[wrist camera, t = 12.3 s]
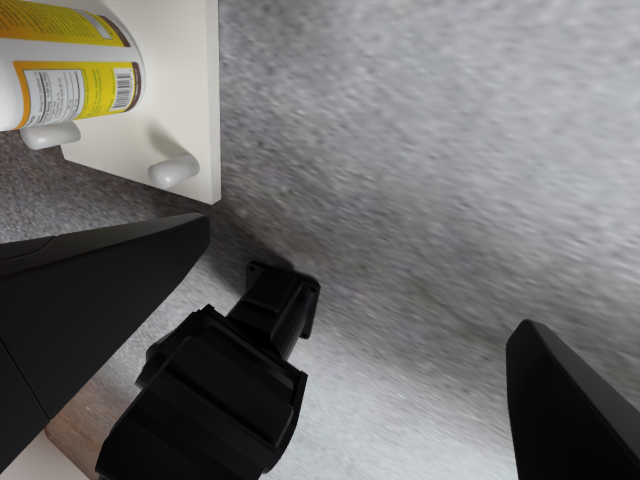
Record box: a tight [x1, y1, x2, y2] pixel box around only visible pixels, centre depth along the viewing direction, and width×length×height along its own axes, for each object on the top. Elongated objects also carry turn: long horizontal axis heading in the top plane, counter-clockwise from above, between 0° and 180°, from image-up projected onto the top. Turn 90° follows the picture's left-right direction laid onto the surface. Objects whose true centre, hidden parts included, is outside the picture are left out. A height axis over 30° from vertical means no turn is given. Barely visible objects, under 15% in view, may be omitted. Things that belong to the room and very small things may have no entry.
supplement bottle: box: [0, 0, 146, 131], centre depth 15 cm, size 6×6×10 cm
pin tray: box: [20, 0, 221, 205], centre depth 19 cm, size 16×14×4 cm
